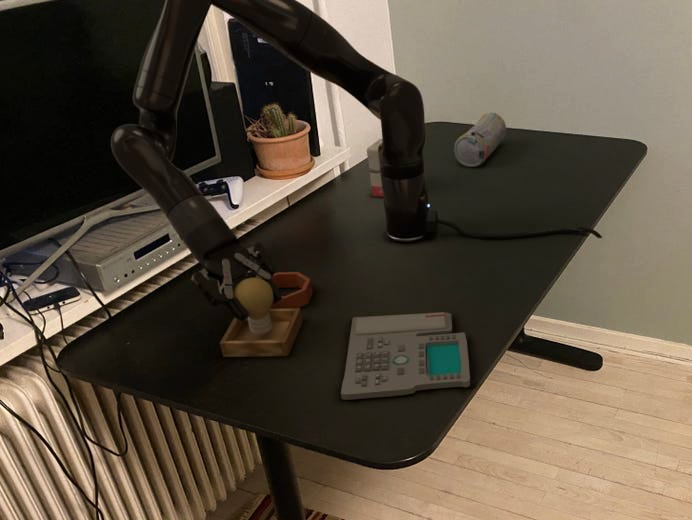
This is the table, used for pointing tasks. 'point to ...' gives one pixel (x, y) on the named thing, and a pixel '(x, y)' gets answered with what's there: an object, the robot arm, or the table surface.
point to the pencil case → (480, 140)
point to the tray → (263, 336)
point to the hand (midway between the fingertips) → (262, 309)
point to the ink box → (375, 168)
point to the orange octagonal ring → (297, 297)
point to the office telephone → (404, 356)
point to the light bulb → (256, 303)
